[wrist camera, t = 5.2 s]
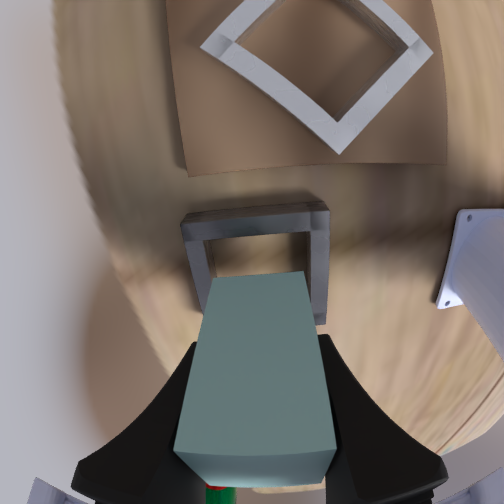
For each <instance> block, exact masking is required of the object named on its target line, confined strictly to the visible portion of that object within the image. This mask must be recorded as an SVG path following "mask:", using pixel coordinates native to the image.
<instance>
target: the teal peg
mask: <svg viewBox="0 0 504 504" xmlns="http://www.w3.org/2000/svg"><path fill="white" fill-rule="evenodd" d="M336 449H337V448H336V440H335V434H334V427H333V420H332V414H331V408H330V402H329V396H328V390H327V384H326V379H325V373H324V368H323V362H322V357H321V352H320V347H319V341H318V336H317V331H316V327H315V322H314V317H313V312H312V307H311V303H310V298H309V294H308V289H307V285H306V280H305V276H304V271H298V272H286V273H274V274H261V275H248V276H234V277H219V278H213V280H212V284H211V288H210V292H209V296H208V300H207V304H206V308H205V312H204V316H203V320H202V324H201V328H200V332H199V336H198V341H197V345H196V349H195V353H194V357H193V362H192V366H191V370H190V375H189V379H188V384H187V388H186V393H185V397H184V402H183V406H182V411H181V416H180V420H179V425H178V430H177V435H176V440H175V445H174V450H173V451H174V452H175V453H176V454H177V455H178V456H179V457H180V458H181V459H182V460H183V461H184V462H185V463H186V464H187V465H188V466H189V467H190V468H191V469H192V470H193V471H194V472H195V473H196V474H198V475H199V476H200V477H201V478H202V479H203V480H204V481H205V482H206V483H208V484H209V485H211V486H225V487H284V486H298V485H309V484H317V483H321V482H322V480H323V478H324V476H325V474H326V472H327V470H328V467H329V465H330V463H331V461H332V458H333V456H334V454H335V451H336Z"/></svg>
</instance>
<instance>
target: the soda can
mask: <svg viewBox="0 0 504 504" xmlns="http://www.w3.org/2000/svg"><path fill="white" fill-rule="evenodd" d="M236 496H237V487H225V486H211V485H209V484H208V483H206V504H236V498H237V497H236Z"/></svg>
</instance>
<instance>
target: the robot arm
mask: <svg viewBox="0 0 504 504" xmlns="http://www.w3.org/2000/svg"><path fill="white" fill-rule="evenodd" d="M468 215H469V217H468ZM467 217H468V219H467ZM461 304H464V305H465V306H466V307H467V309H468V310H469V311H470V313H471V314H472V315H473V317H474V318H475V319H476V321H477V322H478V324H479V325H480V326H481V328H482V329H483V331H484V332H485V334H486V335H487V337H488V338H489V340H490V341H491V343H492V344H493V346H494V347H495V349H496V350H497V352H498V353H499V355H500V357H501V358H502V360H503V362H504V209H462V210H460V211H459V212H458V214H457V217H456V223H455V229H454V234H453V239H452V244H451V248H450V253H449V257H448V261H447V265H446V269H445V273H444V277H443V281H442V284H441V288H440V291H439V294H438V297H437V301H436V306H437V308H438V309H443V308H448V307H452V306H457V305H461ZM317 336H318V341H319V347H320V352H321V357H322V362H323V368H324V373H325V379H326V384H327V390H328V396H329V402H330V408H331V414H332V420H333V427H334V434H335V440H336V448H337V449H336V451H335V454H334V456H333V458H332V461H331V463H330V465H329V467H328V470H327V472H326V474H325V481H326V504H432V501H431V498H433V497H434V493H433V489H435V488H436V487H438V486H440V485H441V484H443V483H444V482H446V481H447V480H448V478H449V477H448V473H447V470H446V467H445V465H444V462H443V460H442V458H441V457H440V456H439V455H437V454H435V453H434V452H432V451H431V450H429V449H428V448H426V447H425V446H423V445H422V444H420V443H419V442H418V441H416V440H415V439H414V438H412V437H411V436H410V435H409V434H407V433H406V432H405V431H404V430H403V429H402V428H400V427H399V426H398V425H397V424H396V423H395V422H394V421H392V420H391V419H390V418H389V417H388V416H387V415H386V414H385V413H384V412H383V411H382V410H381V408H380V407H379V406H378V405H377V404H376V403H375V402H374V401H373V400H372V398H371V397H370V396H369V395H368V394H367V392H366V391H365V390H364V389H363V387H362V386H361V385H360V384H359V382H358V381H357V380H356V378H355V377H354V375H353V374H352V372H351V371H350V370H349V368H348V367H347V365H346V364H345V362H344V361H343V359H342V357H341V356H340V354H339V352H338V351H337V349H336V347H335V345H334V343H333V342H332V340H331V338H330V336H329V335H328V334H321V335H317ZM196 345H197V342H193V343H192V344H191V346H190V347H189V349H188V351H187V352H186V354H185V356H184V357H183V359H182V360H181V362H180V363H179V365H178V367H177V368H176V370H175V371H174V372H173V374H172V375H171V377H170V378H169V380H168V381H167V383H166V384H165V385H164V387H163V388H162V389H161V390H160V392H159V393H158V394H157V396H156V397H155V398H154V399H153V401H152V402H151V403H150V404H149V405H148V407H147V408H146V409H145V410H144V411H143V412H142V413H141V414H140V415H139V416H138V417H137V418H136V419H135V420H134V421H133V422H132V423H131V424H130V425H129V426H128V427H127V428H126V429H125V430H123V431H122V432H121V433H120V434H119V435H118V436H116V437H115V438H114V439H112V440H111V441H110V442H108V443H107V444H106V445H104V446H103V447H102V448H100V449H99V450H97V451H95V452H94V453H92V454H91V455H89V456H87V457H86V458H84V459H82V460H80V461H79V462H78V465H77V467H76V470H75V473H74V477H73V480H72V483H71V488H72V489H73V490H75V491H77V492H79V493H80V494H83V495H84V496H86V497H89V498H91V499H93V500H95V504H206V482H205V481H204V480H203V479H202V478H201V477H200V476H199V475H198V474H196V473H195V472H194V471H193V470H192V469H191V468H190V467H189V466H188V465H187V464H186V463H185V462H184V461H183V460H182V459H181V458H180V457H179V456H178V455H177V454H176V453H175V452H174V451H173V450H174V445H175V440H176V435H177V430H178V425H179V420H180V416H181V411H182V406H183V402H184V397H185V393H186V388H187V384H188V379H189V375H190V370H191V366H192V362H193V357H194V353H195V349H196ZM27 504H88V503H85V502H83V501H81V500H79V499H77V498H74V497H72V496H70V495H68V494H66V493H64V492H63V491H61V490H59V489H57V488H55V487H54V486H52V485H50V484H48V483H46V482H44V481H43V480H41V479H39V478H37V477H36V478H35V480H34V483H33V486H32V489H31V492H30V495H29V499H28V502H27ZM434 504H504V470H503V468H502V467H500V468H499V469H497V470H496V471H494V472H492V473H491V474H489V475H488V476H486V477H485V478H483V479H481V480H479V481H477V482H476V483H474V484H472V485H471V486H469V487H468V488H466V489H464V490H462V491H460V492H458V493H456V494H454V495H453V496H450V497H448V498H446V499H444V500H441V501H439V502H437V503H434Z"/></svg>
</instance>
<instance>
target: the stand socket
mask: <svg viewBox="0 0 504 504" xmlns="http://www.w3.org/2000/svg"><path fill="white" fill-rule="evenodd" d="M180 226H181V231H182V235H183V239H184V244H185V248H186V252H187V256H188V260H189V264H190V268H191V272H192V276H193V280H194V284H195V288H196V291H197V295H198V299H199V302H200V306H201V310H202V313H203V316H204V312H205V308H206V304H207V300H208V296H209V292H210V288H211V284H212V280H213V278H217V275H216V270H215V265H214V260H213V255H212V250H211V245H210V239H221V238H232V237H243V236H255V235H266V234H278V233H290V232H303V231H307V289H308V294H309V298H310V303H311V307H312V312H313V317H314V322H315V325H324V324H326V313H327V297H328V278H329V247H330V210H329V209H328V207H327V206H326V204H325V203H324V201H320V202H305V203H291V204H279V205H267V206H256V207H245V208H235V209H225V210H216V211H207V212H198V213H190V214H187V215H186V216H185V218H184V219H183V221H182V222H181V224H180Z"/></svg>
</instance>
